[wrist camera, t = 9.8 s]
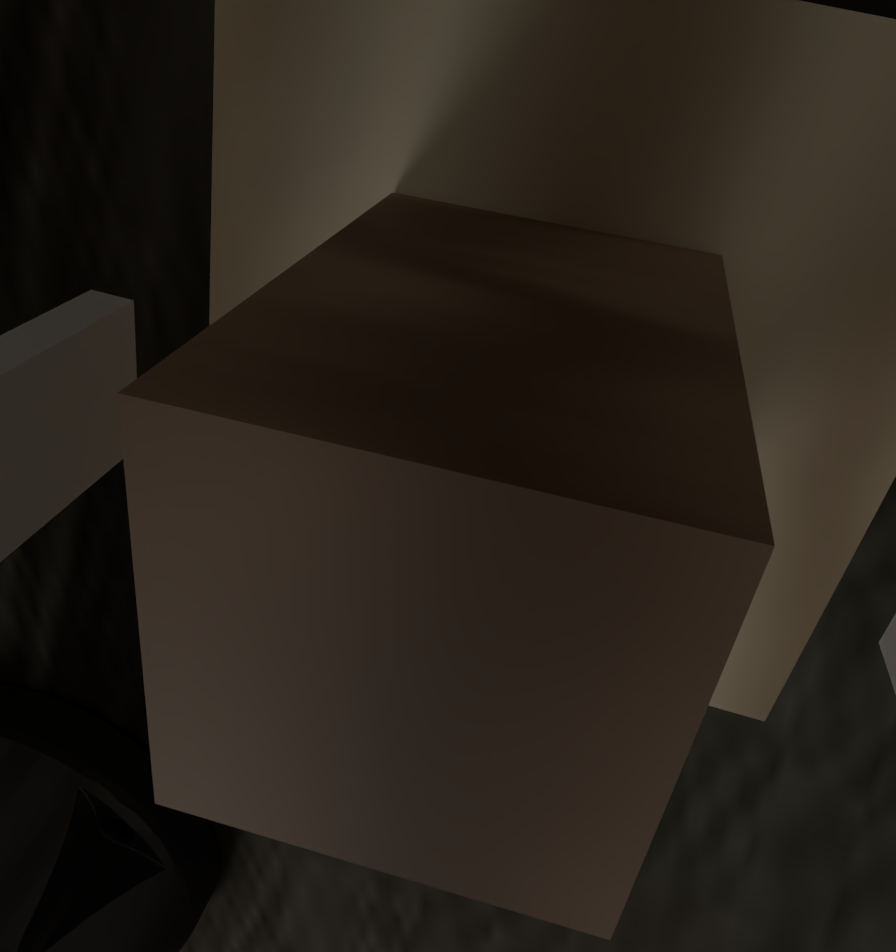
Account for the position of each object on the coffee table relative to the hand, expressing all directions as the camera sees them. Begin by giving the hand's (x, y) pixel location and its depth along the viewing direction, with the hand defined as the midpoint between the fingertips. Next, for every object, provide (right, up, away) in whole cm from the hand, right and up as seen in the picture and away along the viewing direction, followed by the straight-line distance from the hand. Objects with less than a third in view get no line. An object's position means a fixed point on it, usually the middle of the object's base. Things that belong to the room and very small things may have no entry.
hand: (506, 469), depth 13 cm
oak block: (+2, +4, +7) cm, 9 cm away
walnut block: (+1, +2, +3) cm, 4 cm away
